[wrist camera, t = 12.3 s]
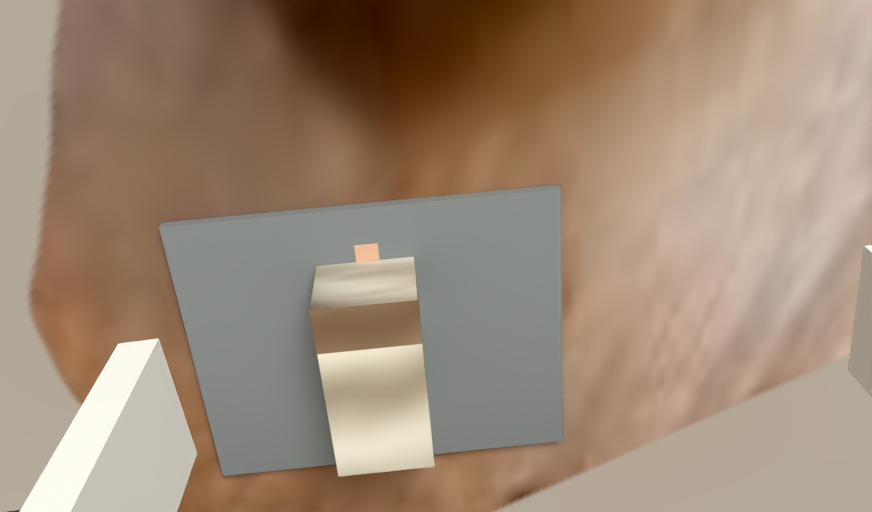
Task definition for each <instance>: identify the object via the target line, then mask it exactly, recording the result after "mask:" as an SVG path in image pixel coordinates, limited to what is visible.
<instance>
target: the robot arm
mask: <svg viewBox="0 0 872 512" xmlns="http://www.w3.org/2000/svg"><path fill="white" fill-rule="evenodd" d="M848 370H849V371H850V373H851V374H852V375H853V376H854V377H855V378H856V379H857V380H858V381H859V383H860V384H861V385H862V386H863V387H864V388H865V389H866V391H867V392H868V393H869V394H870V395H871V396H872V245H868V246H864V251H863V258H862V266H861V274H860V282H859V289H858V297H857V305H856V313H855V320H854V328H853V336H852V344H851V352H850V359H849V367H848ZM196 455H197V452H196V449H195V446H194V443H193V440H192V437H191V434H190V431H189V428H188V425H187V422H186V419H185V416H184V413H183V410H182V407H181V404H180V401H179V398H178V395H177V392H176V389H175V386H174V383H173V380H172V377H171V374H170V371H169V368H168V365H167V362H166V359H165V356H164V353H163V350H162V347H161V344H160V341H159V339H151V340H143V341H136V342H128V343H121V344H118V345H117V347H116V348H115V350H114V352H113V354H112V355H111V357H110V359H109V360H108V362H107V364H106V365H105V367H104V369H103V371H102V372H101V374H100V376H99V377H98V379H97V381H96V383H95V384H94V386H93V388H92V389H91V391H90V393H89V394H88V396H87V398H86V400H85V401H84V403H83V405H82V406H81V408H80V410H79V411H78V413H77V415H76V417H75V418H74V420H73V422H72V423H71V425H70V427H69V429H68V430H67V432H66V434H65V435H64V437H63V439H62V441H61V442H60V444H59V445H58V447H57V449H56V451H55V452H54V454H53V456H52V457H51V459H50V461H49V463H48V464H47V466H46V468H45V469H44V471H43V473H42V474H41V476H40V478H39V479H38V481H37V483H36V485H35V486H34V488H33V490H32V491H31V493H30V495H29V497H28V498H27V500H26V502H25V503H24V505H23V507H22V508H21V510H17V511H9V512H177V510H178V508H179V505H180V502H181V499H182V496H183V493H184V490H185V487H186V484H187V481H188V478H189V476H190V473H191V470H192V467H193V464H194V461H195V458H196Z"/></svg>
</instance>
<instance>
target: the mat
mask: <svg viewBox="0 0 872 512" xmlns="http://www.w3.org/2000/svg"><path fill="white" fill-rule="evenodd" d="M159 229H160V233H161V237H162V241H163V245H164V249H165V253H166V257H167V260H168V264H169V268H170V272H171V276H172V280H173V284H174V288H175V292H176V295H177V299H178V303H179V307H180V311H181V315H182V319H183V323H184V326H185V330H186V334H187V338H188V342H189V346H190V350H191V354H192V357H193V361H194V365H195V369H196V373H197V377H198V381H199V385H200V389H201V392H202V396H203V400H204V404H205V408H206V412H207V416H208V420H209V423H210V427H211V431H212V435H213V439H214V443H215V447H216V451H217V454H218V458H219V462H220V466H221V470H222V474H223V476H229V475H238V474H248V473H258V472H267V471H277V470H287V469H297V468H306V467H316V466H326V465H336V460H335V454H334V448H333V442H332V437H331V431H330V425H329V419H328V414H327V408H326V402H325V396H324V391H323V385H322V379H321V373H320V368H319V362H318V356H317V353H316V348H315V342H314V336H313V331H312V325H311V319H310V313H309V308H310V302H311V296H312V289H313V283H314V277H315V271H316V266H320V265H330V264H340V263H351V262H361V261H371V260H381V259H391V258H402V257H412V256H414V258H415V268H416V278H417V288H418V298H419V309H420V321H421V331H422V341H423V351H424V361H425V371H426V380H427V390H428V400H429V410H430V421H431V432H432V443H433V454H443V453H452V452H462V451H472V450H481V449H491V448H501V447H511V446H520V445H530V444H540V443H549V442H559V441H563V415H562V269H561V188H560V186H559V185H549V186H539V187H528V188H518V189H507V190H497V191H486V192H476V193H466V194H455V195H445V196H434V197H424V198H413V199H403V200H392V201H382V202H372V203H361V204H351V205H340V206H330V207H319V208H309V209H298V210H288V211H278V212H267V213H257V214H246V215H236V216H225V217H215V218H204V219H194V220H184V221H173V222H163V223H161V225H160V227H159Z"/></svg>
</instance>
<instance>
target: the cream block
mask: <svg viewBox="0 0 872 512" xmlns="http://www.w3.org/2000/svg"><path fill="white" fill-rule="evenodd" d="M309 313H310V319H311V325H312V331H313V336H314V342H315V348H316V353H317V356H318V362H319V368H320V373H321V379H322V385H323V391H324V396H325V402H326V408H327V414H328V419H329V425H330V431H331V437H332V442H333V448H334V454H335V460H336V465H337V471H338V477H339V476H349V475H359V474H368V473H378V472H388V471H397V470H407V469H416V468H426V467H435V465H434V454H433V443H432V432H431V421H430V410H429V400H428V390H427V380H426V371H425V361H424V351H423V341H422V331H421V321H420V309H419V298H418V288H417V278H416V268H415V258H414V256H412V257H402V258H391V259H381V260H371V261H361V262H351V263H340V264H330V265H320V266H316V271H315V277H314V283H313V289H312V296H311V302H310V308H309Z"/></svg>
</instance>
